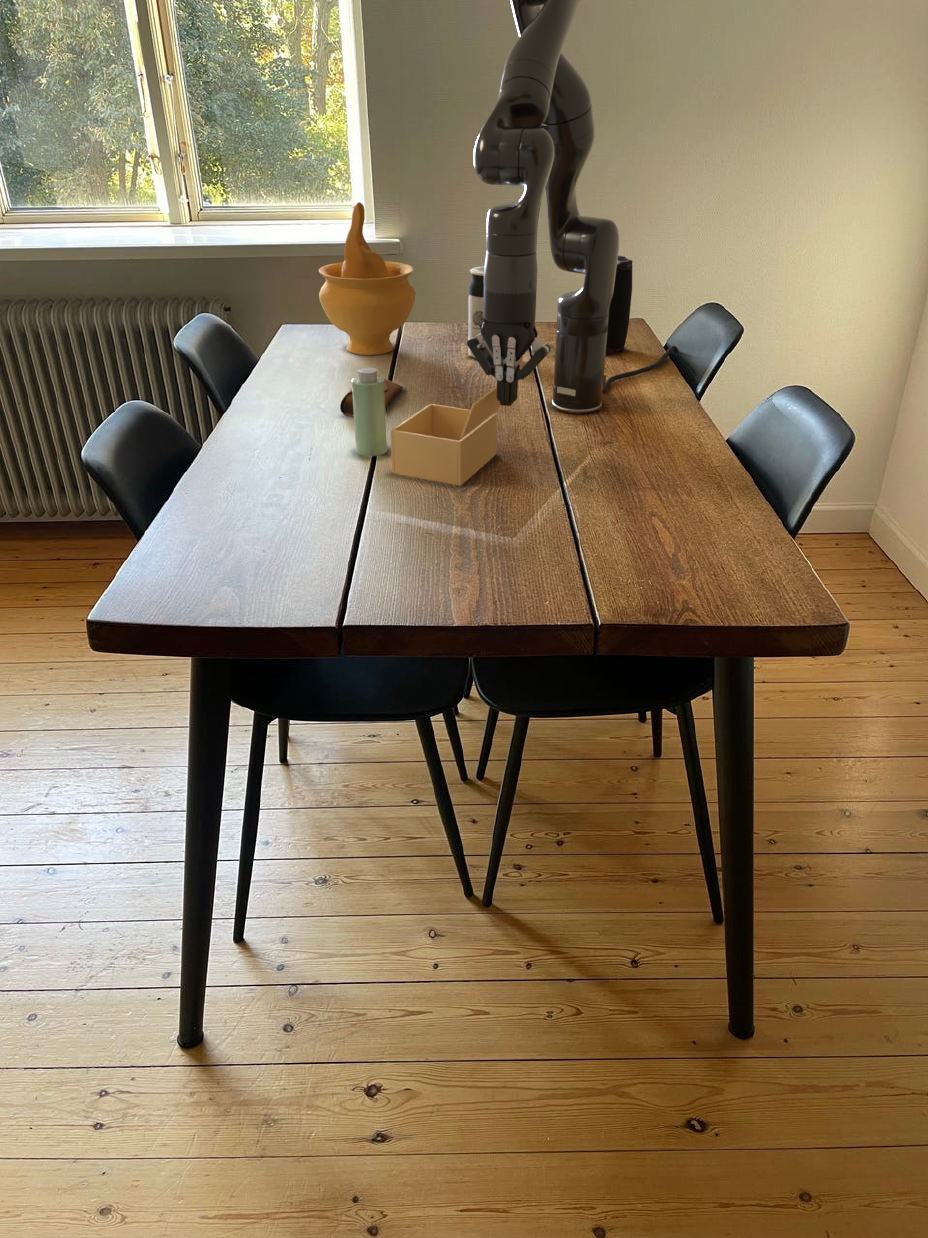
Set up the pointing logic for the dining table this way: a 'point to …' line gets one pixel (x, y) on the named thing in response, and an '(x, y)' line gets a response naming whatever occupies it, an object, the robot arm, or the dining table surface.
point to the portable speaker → (620, 306)
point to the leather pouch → (390, 394)
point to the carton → (442, 445)
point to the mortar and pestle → (366, 293)
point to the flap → (481, 411)
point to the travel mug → (476, 305)
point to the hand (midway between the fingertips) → (506, 404)
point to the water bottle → (369, 413)
